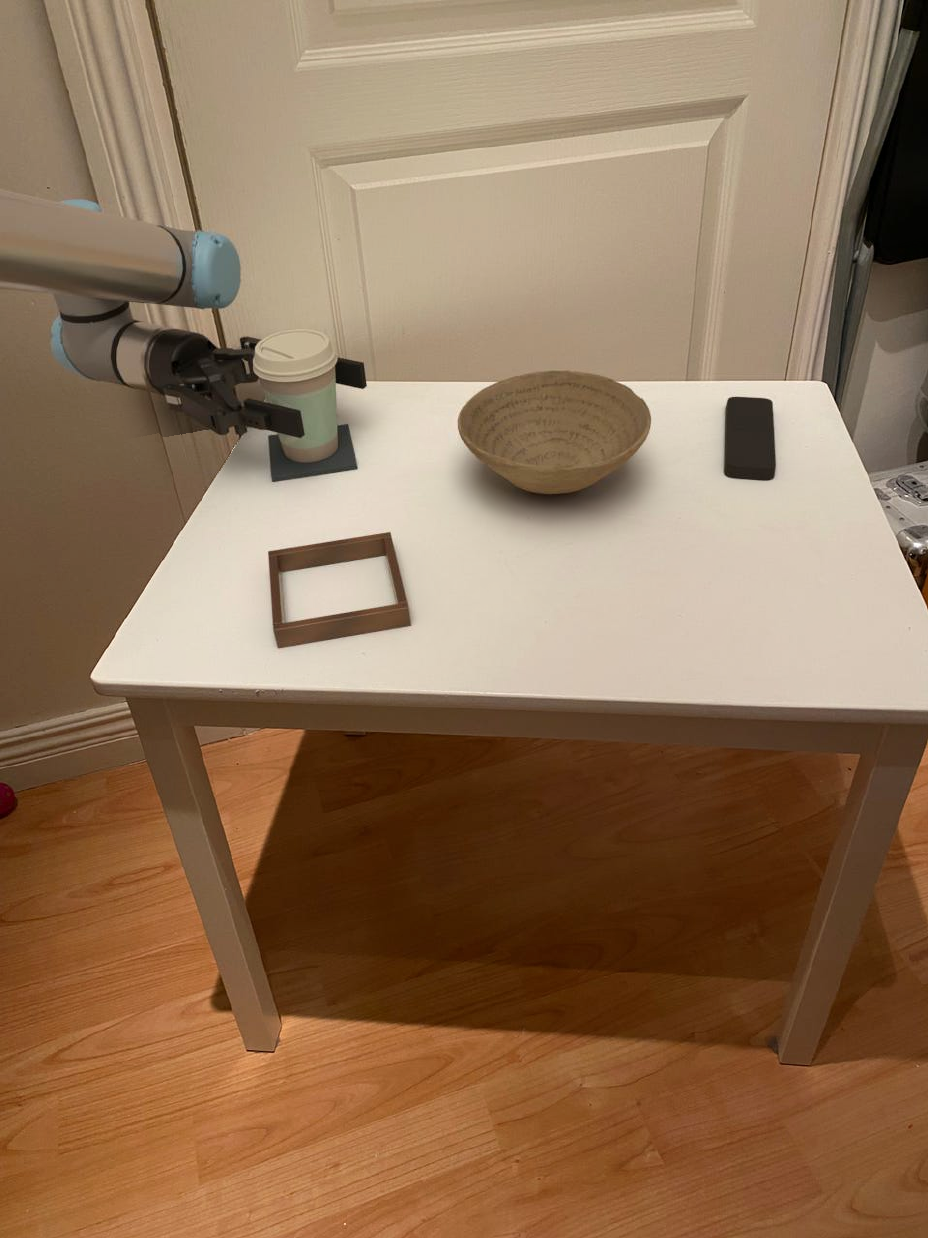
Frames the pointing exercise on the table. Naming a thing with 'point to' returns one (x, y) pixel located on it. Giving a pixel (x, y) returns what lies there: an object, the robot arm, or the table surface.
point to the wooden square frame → (344, 621)
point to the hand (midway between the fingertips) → (333, 399)
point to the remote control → (749, 438)
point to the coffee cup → (301, 388)
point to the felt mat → (291, 469)
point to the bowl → (554, 429)
